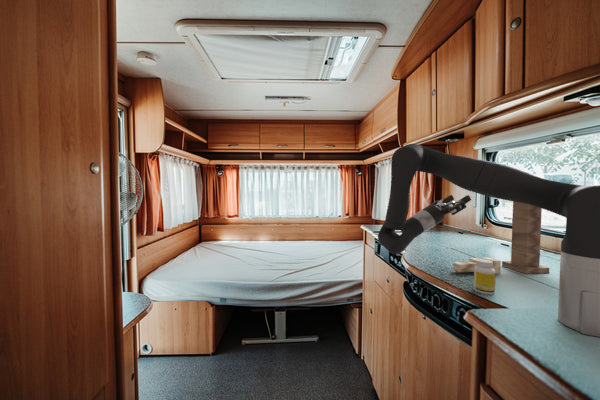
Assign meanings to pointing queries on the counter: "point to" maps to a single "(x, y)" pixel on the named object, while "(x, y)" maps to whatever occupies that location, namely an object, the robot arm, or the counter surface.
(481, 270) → the supplement bottle
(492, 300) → the counter surface
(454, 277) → the counter surface
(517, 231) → the stand
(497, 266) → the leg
